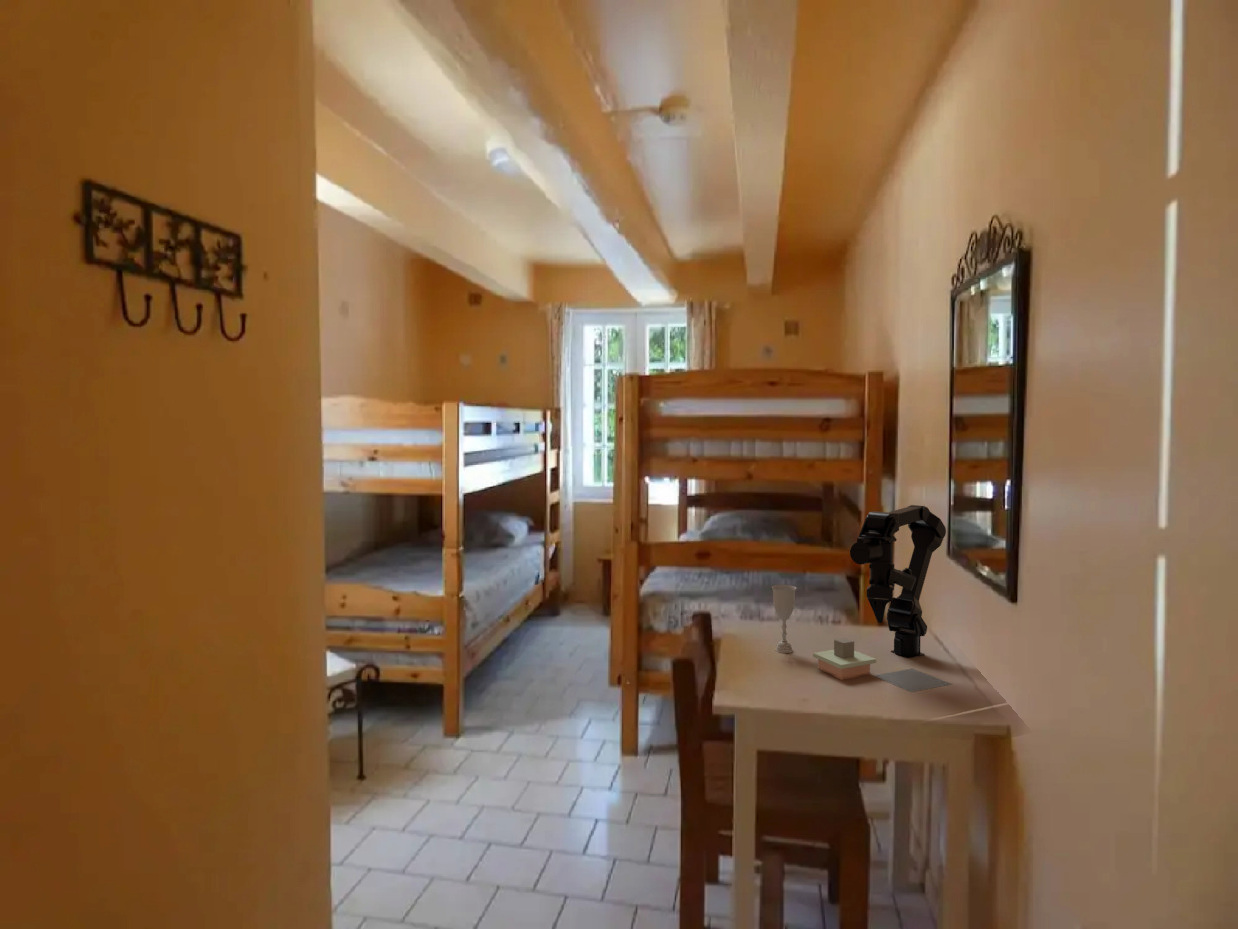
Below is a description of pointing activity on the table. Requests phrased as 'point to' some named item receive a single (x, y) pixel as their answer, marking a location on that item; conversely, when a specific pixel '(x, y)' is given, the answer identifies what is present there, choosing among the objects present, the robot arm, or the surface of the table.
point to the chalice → (784, 611)
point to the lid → (844, 655)
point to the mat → (912, 680)
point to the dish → (844, 670)
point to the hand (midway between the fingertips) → (881, 618)
